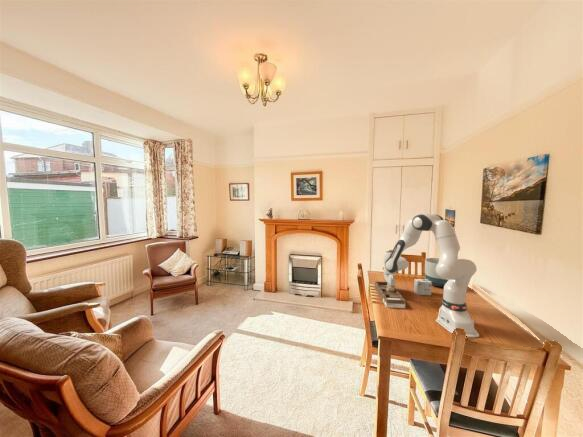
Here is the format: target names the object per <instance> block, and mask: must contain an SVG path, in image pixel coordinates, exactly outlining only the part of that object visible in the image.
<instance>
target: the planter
mask: <svg viewBox="0 0 583 437" xmlns="http://www.w3.org/2000/svg"><path fill="white" fill-rule="evenodd" d="M438 262H439V257H437V258H436V257H428V258H425V259H424V278H425V279H428V280H429V281H431V282H432V286H434V287H438V288H439V287H440V288H441V287H442V288H444V285H445V284H446V283H447V281H448V280H446V279H442V278H440V277H439V276H438V275H437V273H436V266H437V264H438Z"/></svg>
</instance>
